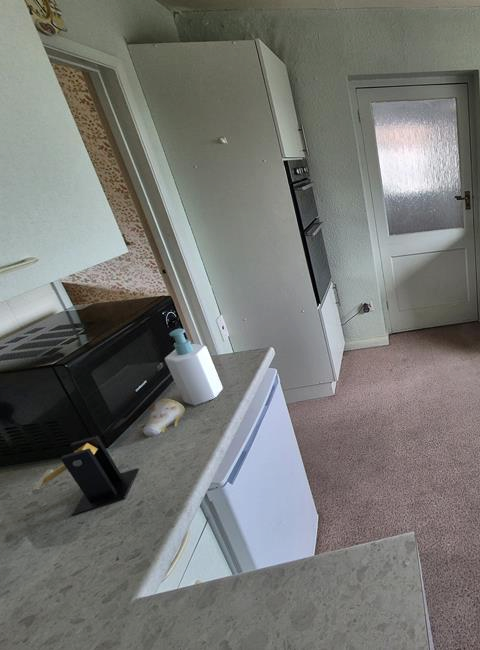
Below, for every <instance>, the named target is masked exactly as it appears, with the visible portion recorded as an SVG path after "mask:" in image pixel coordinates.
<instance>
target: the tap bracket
mask: <svg viewBox="0 0 480 650" xmlns="http://www.w3.org/2000/svg"><path fill="white" fill-rule="evenodd" d="M86 443H88V444H90V445H92V446H94V447H95V448H97V451H96V452H95V454H93V453H92V451H91V449H90V448H89V449H85V450H81V451H78V452H75V451H76V450H77V449H79V448H80V447H82V446H83V445H84V444H86ZM70 448H71V449H72V451H73V452H70V453H67V454H63V455H62V456H61V458H60V460H61V462H62V464H64V465H65V466H66V468H67V469H66V470H67V471H68V472H69V474H70V475H71V478H73V480H74V481H75V483H76V484H77V486H78V487H79V489H80V490H81V492H82V497H81V498H80V501H79V502H78V503H77V505H76V507H75V509H74V510H73V512H72V514H71V516H72V517H74V516H78V515H80V514H84V513H87V512H90V511H93V510H96V509H99V508H102V507H106V506H109V505H111V504H115V503H117V502H121V501H124V500H126V499H127V497H128V494H129V492H130V490H131V488H132V486H133V483H134V481H135V479H136V478H137V475H138V473H139V470H140V468H139V467H137V468H134V469H130V470H127V471H124V472H121V470H119V468H118V466H117V465H116V463H115V462H114V460H113V458H112V456H111V455H110V453H109V452H108V450H107V448H106V447H105V444H104V443H103V442H102V440H101V438H100V437H99V435H96V436H91V437H88V438H84V439H80V440H77V441H74V442H72V443H71V444H70Z"/></svg>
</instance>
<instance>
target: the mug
mask: <svg viewBox="0 0 480 650" xmlns="http://www.w3.org/2000/svg"><path fill="white" fill-rule="evenodd" d="M185 412H186V408H185V407H184V406H183V404H181V403H180V402H178V401H176V400H173V399H171V398H160V399H159V400H157V401H156V402H155V403H154V405H153V407H152V409H151V412H150V416H149V419H148V422H146V425H145V426H144V427H143V430H142V431H143V434H144V435H145V436H147V437H155V436H157V435H160V434H165V431H166V428H167V427H169V426H171V425H172V424H173V428H175V427H177V426H178V423H179V421H180V419H181V418H182V416H183V415H184V413H185Z"/></svg>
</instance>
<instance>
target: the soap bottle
mask: <svg viewBox="0 0 480 650" xmlns="http://www.w3.org/2000/svg"><path fill="white" fill-rule="evenodd" d="M184 333H186V330H185V329H184V328H176V329H174V330H172V331H170V333H168V334H169V336H170V337H173V339H174V340H175V343H173V347H174V350H172V352H170V353H169V354H168V355H167V356H165V357H164V362H165V364H166V366H167V368H168V370H169V372H170V374H171V377H172V379H173V381H174V383H175V385H176V387H177V390H178V391H179V394H180V396H181V398H182V400H183V402H184V403H186V404H189V405H192V406H199V405H201V403H202V404H204V403H208V402H210V401H213V400H215V399H216V398H217V396H218V395H219V394H220V393H221V392H222V390H223V389H224V386H223V385H222V382H221V380H220V377H219V375H218V371H217V370H216V367H215V364H214V362H213V360H212V357H211V354H210V352H209V350H208V347H207V346H206V345H204V344H198V343H192V342H191V341H190V339H186V337H185V334H184ZM215 397H216V398H215ZM214 398H215V399H214ZM212 399H213V400H212ZM209 400H210V401H209ZM198 404H199V405H198Z"/></svg>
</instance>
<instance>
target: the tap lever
mask: <svg viewBox="0 0 480 650" xmlns="http://www.w3.org/2000/svg"><path fill="white" fill-rule="evenodd" d="M89 448H90V449H91V451H92V453H93V454H95V452H96V451H97V448H95V447H94V446H92V445H90V444H88V443H86V444H84V445H83V446H82V447H80V448H79V449H77V450H76V451H75V452H78V451H81V450H85V449H89ZM67 470H68V469H67V468H66V466H65V465H64V463H62V465H60V466H58V467H57V468H56V469H53V468H49V469H46V471H45V472H44V474H43V475H42V476H41V478H40V479H39V481H38V482H37V483H36V484H35V485H34V486H33V488H32V490H31V494H32V495H39V494H42V492H43V490H44V489H45V488H46V486H47V485H48V484H49V482H51V481H52V480H53V479H55V478H57V477H58V476H60V475H61V474H62V473H63V472H65V471H67Z"/></svg>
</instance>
